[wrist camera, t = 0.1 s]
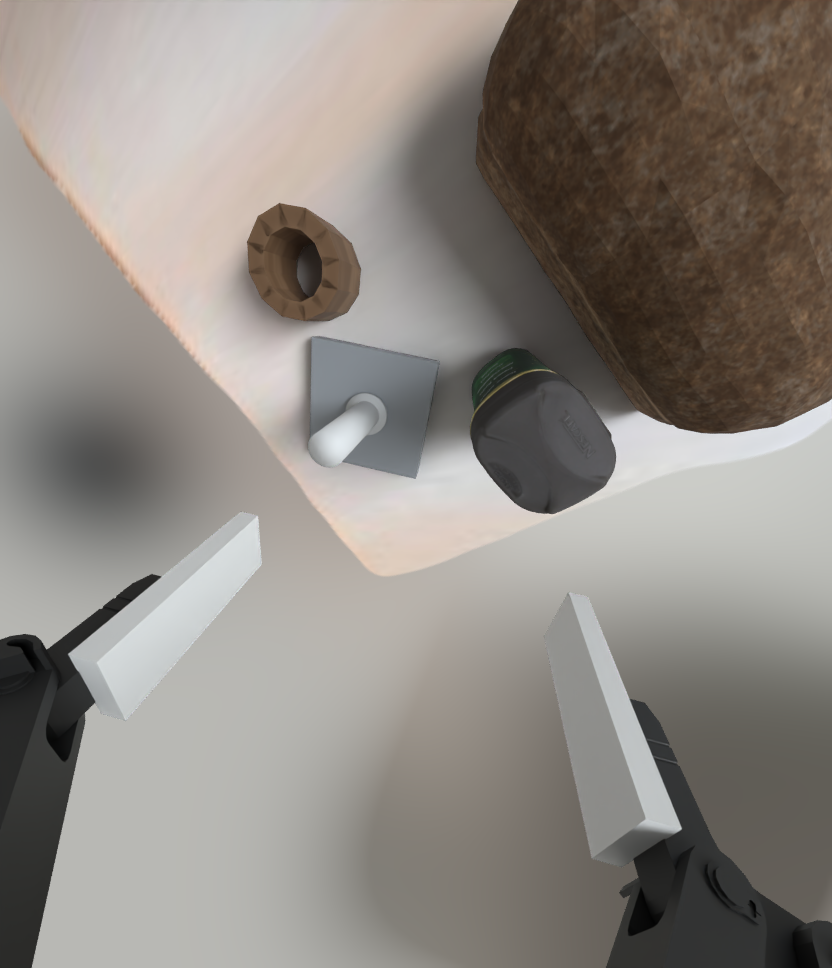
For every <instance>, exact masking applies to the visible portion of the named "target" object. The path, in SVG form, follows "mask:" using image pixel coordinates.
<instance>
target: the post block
mask: <svg viewBox="0 0 832 968" xmlns="http://www.w3.org/2000/svg"><path fill="white" fill-rule="evenodd" d="M439 363H440V361H437V360H432V359H428V358H423V357H418V356H413V355H408V354H404V353H399V352H394V351H389V350H384V349H380V348H375V347H370V346H365V345H360V344H356V343H351V342H346V341H341V340H336V339H332V338H327V337H322V336H315V337H312V351H311V412H310V440H309V443H308V450H309V453H310V455H311V457H312V458H313V460H314V461H315V462H316V463H318V464H319V465H321V466H324V467H335V466H337V465H339V464H340V463H341V462H345V463H349V464H354V465H358V466H362V467H367V468H371V469H375V470H380V471H384V472H388V473H393V474H397V475H401V476H406V477H410V478H414V479H416V476H417V473H418V469H419V464H420V459H421V454H422V449H423V444H424V439H425V434H426V429H427V424H428V419H429V414H430V409H431V404H432V399H433V393H434V388H435V383H436V378H437V373H438V368H439Z"/></svg>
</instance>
